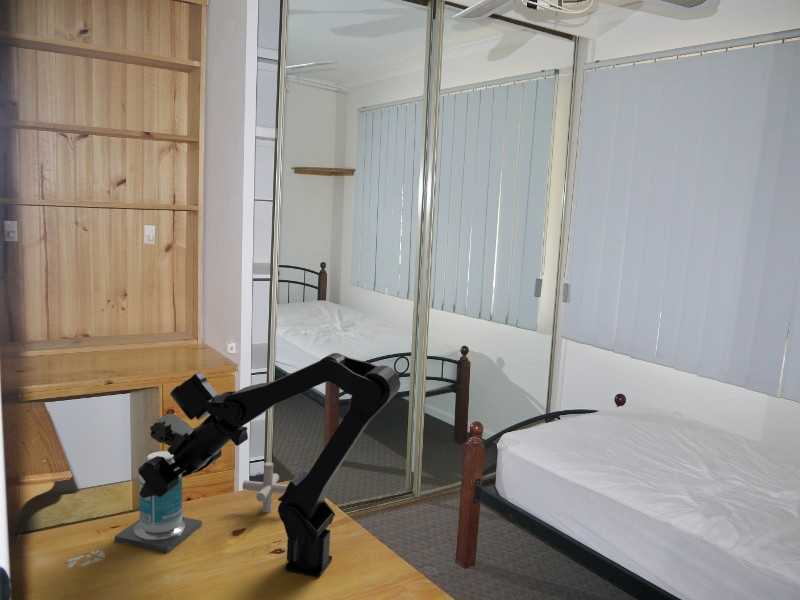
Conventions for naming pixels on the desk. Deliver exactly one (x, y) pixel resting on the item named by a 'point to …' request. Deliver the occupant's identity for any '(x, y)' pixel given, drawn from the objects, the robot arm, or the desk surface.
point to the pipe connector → (266, 487)
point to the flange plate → (158, 535)
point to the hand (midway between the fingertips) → (154, 487)
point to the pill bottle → (161, 504)
